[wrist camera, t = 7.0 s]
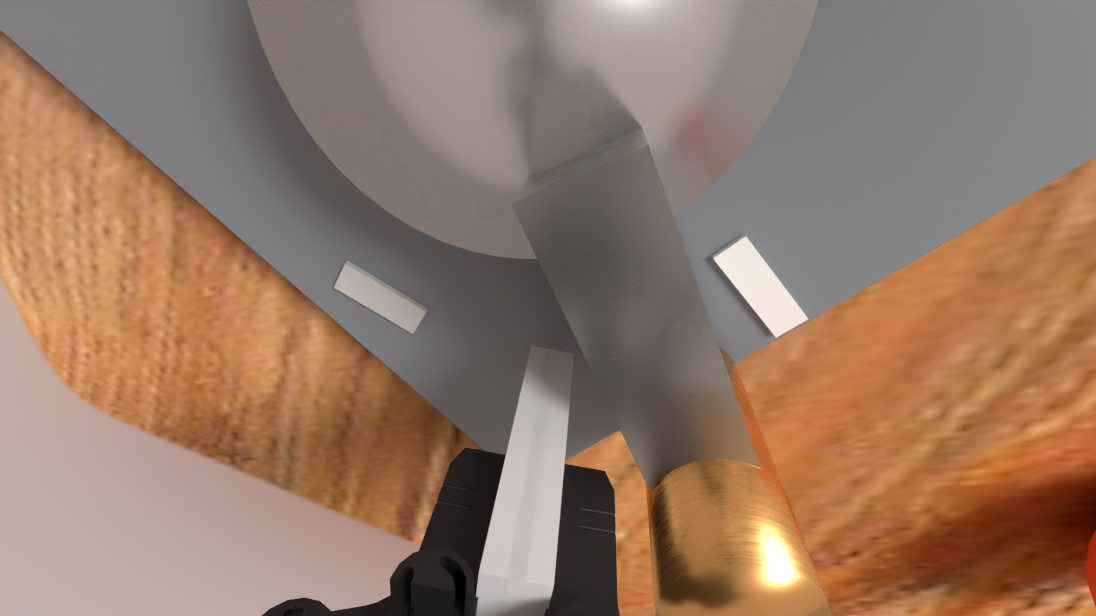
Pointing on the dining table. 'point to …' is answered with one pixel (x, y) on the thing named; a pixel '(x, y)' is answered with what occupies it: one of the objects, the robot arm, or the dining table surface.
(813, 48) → the plate
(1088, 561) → the clementine
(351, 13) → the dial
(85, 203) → the dining table surface
